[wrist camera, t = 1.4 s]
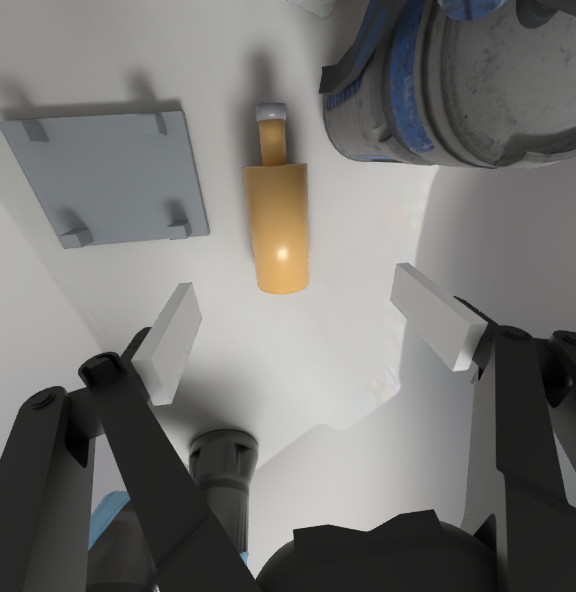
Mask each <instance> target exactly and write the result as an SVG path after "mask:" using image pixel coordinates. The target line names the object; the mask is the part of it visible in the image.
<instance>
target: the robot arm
mask: <svg viewBox="0 0 576 592" xmlns="http://www.w3.org/2000/svg"><path fill="white" fill-rule="evenodd" d="M390 300H391V302H392V303H393V304H394V305H395V306H396V307H397V308H398V310H399V311H400V312H401V313H402V314H403V315H404V316H405V318H406V319H407V320H408V321H409V322H410V323H411V324H412V326H413V327H414V328H415V329H416V330H417V331H418V332H419V334H420V335H421V336H422V337H423V338H424V339H425V340H426V342H427V343H428V344H429V345H430V346H431V347H432V348H433V349H434V351H435V352H436V353H437V354H438V355H439V356H440V358H441V359H442V360H443V361H444V362H445V363H446V364H447V366H448V367H449V368H450V369H451V370H452V371H460V370H468V368H469V366H470V364H471V361H472V360H473V361H474V362H475V363H476V364H477V365H478V367H477V370H476V372H475V374H474V376H473V378H472V381H471V383H472V384H473V383H474V382H475V386H474V401H473V413H472V427H471V440H470V453H469V466H468V479H467V480H468V481H467V492H466V506H465V513H464V518H463V521H462V525H461V527H460V528H458V527H456V526H453V525H451V524H448V523H445V522H442V521H439V519H438V518H437V515H436V513H435V511H434V509H432V510H425V511H418V512H411V513H404V514H399V515H397V516H396V517H394V518H392V519H390V520H389V521H387V522H385V523H383V524H382V525H380V526H378V527H376V528H374V529H373V530H371V531H368V532H365V531H359V530H354V529H349V528H343V527H339V526H334V525H321V526H314V527H307V528H300V529H294V530H293V534H294V540H292V541H290V542H289V543H287V544H285V545H284V546H283V547H281V548H280V549H279V550H278V551H277V552H275V553H274V554H273V556H272V557H271V558H270V559H269V560H268V561H267V563H266V564H265V565H264V567H263V568H262V570H261V571H260V573H259V575H258V576H257V578H256V580H255V579H254V577H253V576H252V574H251V572H250V571H249V569H248V567H247V557H248V513H249V487H250V483H251V480H252V477H253V474H254V470H255V467H256V464H257V460H258V444H257V442H256V441H255V439H254V438H252V437H251V436H249V435H248V434H245V433H243V432H239V431H234V430H218V431H213V432H209V433H206V434H204V435H202V436H200V437H199V438H197V439H196V440H195V441H194V442H193V444H192V446H191V449H190V453H189V472H188V471H187V469H186V467H185V466H184V464H183V462H182V461H181V459H180V457H179V456H178V454H177V452H176V451H175V449H174V448H173V446H172V444H171V443H170V441H169V439H168V438H167V436H166V434H165V433H164V431H163V429H162V428H161V426H160V424H159V423H158V421H157V420H156V418H155V416H154V415H153V413H152V411H151V410H150V408H149V406H148V405H147V402H148V400H149V398H150V399H151V401H152V403H153V405H154V406H157V405H165V404H172V401H173V398H174V395H175V392H176V390H177V387H178V384H179V381H180V379H181V376H182V373H183V370H184V367H185V365H186V362H187V359H188V356H189V353H190V351H191V348H192V345H193V342H194V340H195V337H196V334H197V331H198V328H199V326H200V323H201V320H202V317H201V313H200V310H199V306H198V302H197V299H196V295H195V292H194V288H193V285H192V282H191V283H180V284H179V285H178V286H177V288H176V290H175V291H174V293H173V294H172V296H171V298H170V299H169V301H168V302H167V304H166V306H165V307H164V309H163V310H162V312H161V313H160V315H159V317H158V318H157V320H156V321H155V323H154V325H153V326H152V327H145V328H143V329H142V330H141V331H140V332H138V333H137V334H136V335H135V337H134V338H133V339H132V341H131V343H130V344H129V345H128V347H127V349H126V350H125V351H124V353H123V354H122V355H121V357H119V355H118V354H117V353H115V352H106V353H101V354H99V355H96V356H94V357H92V358H90V359H89V360H87V361H86V362H85V363H84V364H82V365H81V367H80V368H79V370H78V375H79V376H80V378H81V379H82V381H83V382H84V383H85V385H86V386H87V387H85V388H82V389H79V390H76V391H73V392H70V393H68V392H67V391H66V390H65V388H63V387H61V386H54V387H50V388H47V389H44V390H42V391H39V392H38V393H36V394H35V395H33V396H31V397H30V398H29V399H28V400H27V401H26V402H24V403H23V405H22V406H21V408H20V409H19V412H18V415H17V417H16V420H15V422H14V425H13V428H12V430H11V433H10V435H9V438H8V440H7V443H6V446H5V448H4V451H3V453H2V456H1V459H0V592H576V508H575V507H573V506H571V505H569V503H568V501H567V498H566V494H565V489H564V484H563V479H562V474H561V469H560V465H559V460H558V455H557V449H556V445H555V440H554V435H553V430H554V432H555V434H556V436H557V438H558V440H559V442H560V443H561V445H562V447H563V449H564V451H565V453H566V455H567V457H568V458H569V460H570V462H571V464H572V466H573V468H574V470H575V472H576V332H569V331H561V330H558V331H554V333H553V334H552V336H551V337H550V339H540V338H533V337H532V336H531V335H530V334H529V333H527V332H525V331H524V330H522V329H519V328H516V327H513V326H506V325H502V326H500V325H498V324H497V323H496V322H494V321H493V320H491V319H490V318H488V317H487V316H486V315H485V314H483V313H482V312H479V310H478V309H476V308H475V307H473V306H472V305H471V304H469V303H468V302H467V301H465V300H463V299H460V298H458V297H456V296H452V295H450V294H449V293H448V292H446V291H445V290H444V289H442V288H441V287H440V286H438V285H437V284H436V283H434V282H433V281H432V280H430V279H429V278H427V277H426V276H425V275H424V274H422V273H421V272H420V271H418V270H417V269H416V268H414V267H413V266H412V265H410V264H409V263H399V264H396V269H395V275H394V281H393V286H392V292H391V298H390ZM572 383H573V384H572ZM552 428H553V430H552ZM102 434H106V436H107V439H108V442H109V444H110V447H111V450H112V452H113V455H114V457H115V460H116V463H117V466H118V468H119V471H120V473H121V476H122V479H123V481H124V484H125V486H126V489H127V491H113V492H111V493H109V494H107V495H106V496H105V497H104V498H103V499H102V500H101V501H100V503H99V504H98V506H97V507H96V509H95V510H94V512H93V513H92V515H91V501H92V485H93V470H94V454H95V440H96V439H95V438H96V437H97V436H100V435H102Z"/></svg>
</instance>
